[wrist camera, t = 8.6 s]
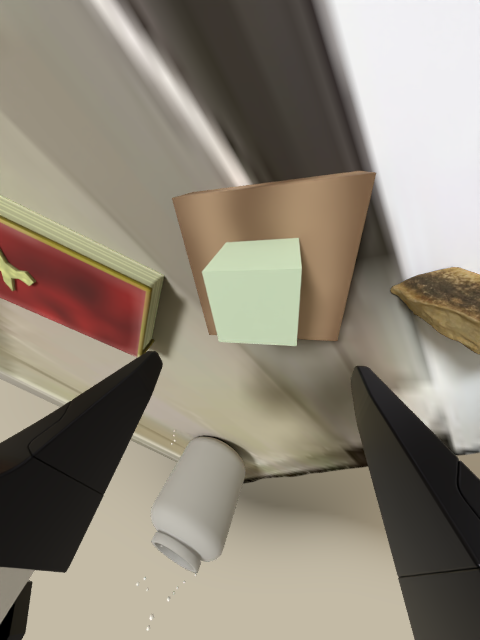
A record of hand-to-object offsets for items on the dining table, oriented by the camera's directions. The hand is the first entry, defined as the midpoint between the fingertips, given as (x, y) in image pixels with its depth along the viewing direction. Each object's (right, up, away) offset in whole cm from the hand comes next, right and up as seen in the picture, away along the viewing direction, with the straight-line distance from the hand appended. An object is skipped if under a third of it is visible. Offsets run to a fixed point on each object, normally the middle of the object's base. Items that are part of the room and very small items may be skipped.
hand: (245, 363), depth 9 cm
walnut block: (+3, +7, +9) cm, 12 cm away
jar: (-7, -27, +39) cm, 48 cm away
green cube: (+2, +5, +6) cm, 8 cm away
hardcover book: (-19, +8, +15) cm, 26 cm away
